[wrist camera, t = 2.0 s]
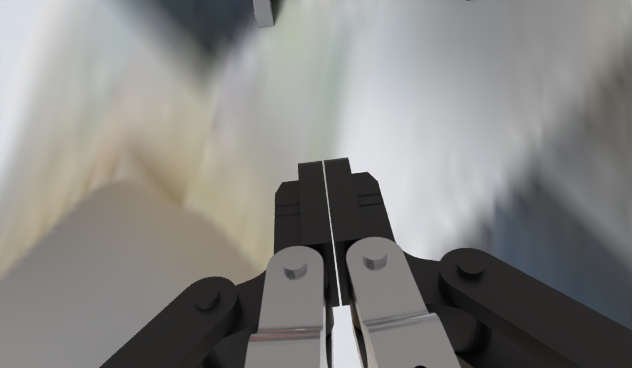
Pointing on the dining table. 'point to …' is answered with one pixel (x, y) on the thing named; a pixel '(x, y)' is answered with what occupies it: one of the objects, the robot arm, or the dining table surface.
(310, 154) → the dining table surface
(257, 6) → the two-trap box
